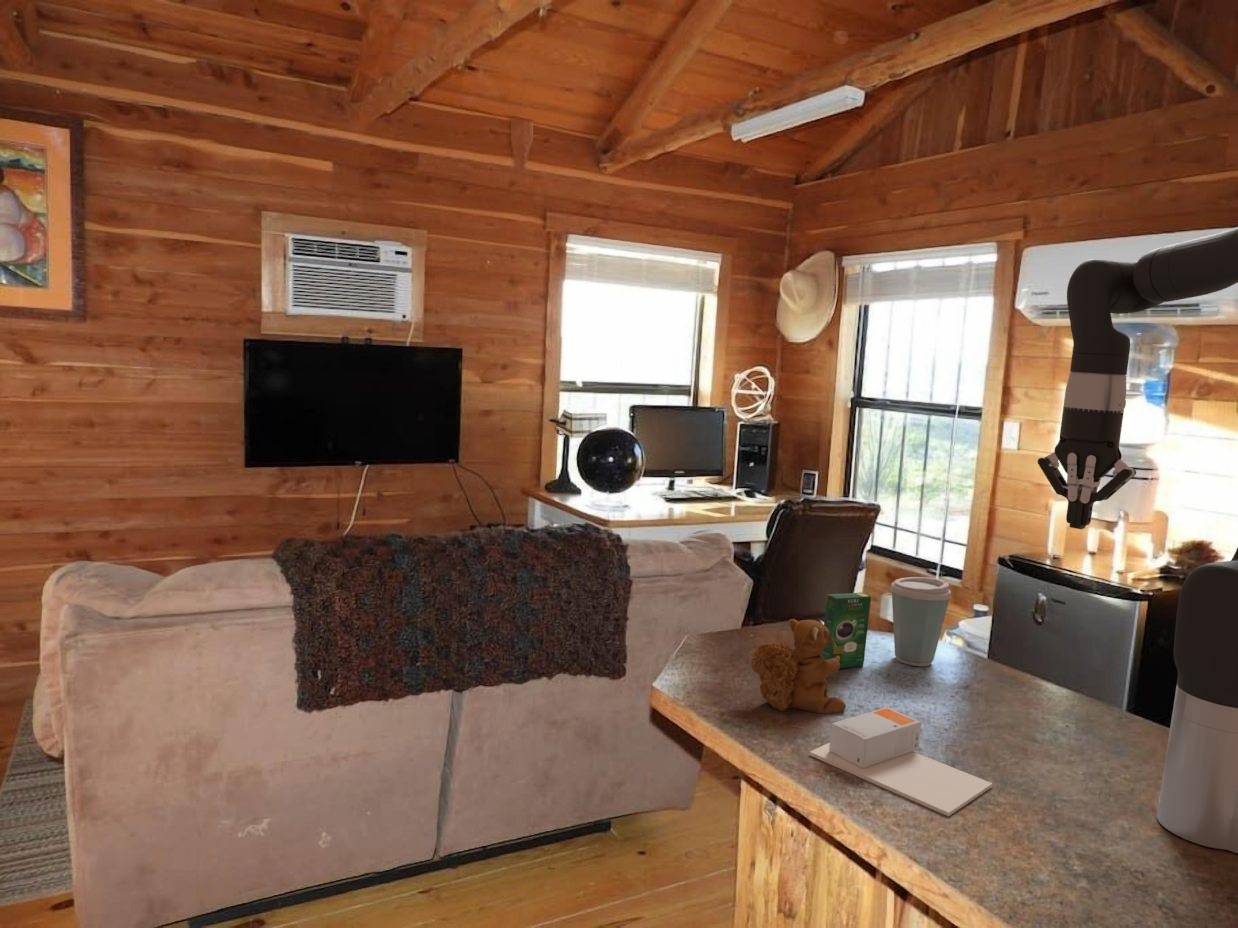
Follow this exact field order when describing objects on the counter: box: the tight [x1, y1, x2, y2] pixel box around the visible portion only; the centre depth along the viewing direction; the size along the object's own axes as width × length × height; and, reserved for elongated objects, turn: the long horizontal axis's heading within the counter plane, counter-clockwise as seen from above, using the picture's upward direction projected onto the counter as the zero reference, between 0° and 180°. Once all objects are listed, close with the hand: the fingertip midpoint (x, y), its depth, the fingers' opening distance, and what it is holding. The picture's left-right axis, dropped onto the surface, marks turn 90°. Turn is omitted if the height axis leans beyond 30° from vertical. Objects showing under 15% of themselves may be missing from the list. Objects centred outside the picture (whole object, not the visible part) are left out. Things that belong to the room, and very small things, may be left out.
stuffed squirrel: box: [748, 618, 847, 714], centre depth 139 cm, size 10×14×13 cm
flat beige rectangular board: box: [809, 742, 993, 817], centre depth 119 cm, size 20×12×1 cm, turn 44°
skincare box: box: [829, 706, 922, 768], centre depth 124 cm, size 6×4×12 cm
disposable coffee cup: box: [890, 576, 952, 667], centre depth 163 cm, size 11×11×15 cm
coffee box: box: [821, 592, 872, 670], centre depth 157 cm, size 8×3×13 cm, turn 115°
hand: (1077, 527), depth 128 cm, fingers closed
